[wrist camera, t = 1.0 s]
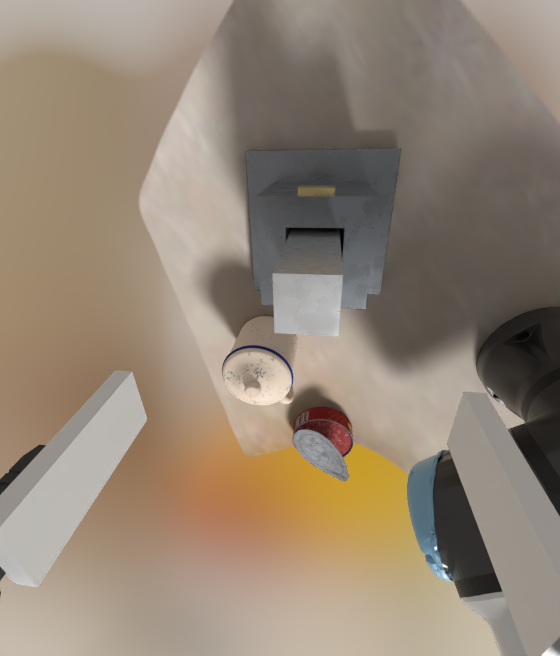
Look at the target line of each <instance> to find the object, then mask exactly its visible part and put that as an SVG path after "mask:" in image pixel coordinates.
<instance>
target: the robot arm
mask: <svg viewBox="0 0 560 656" xmlns="http://www.w3.org/2000/svg"><path fill="white" fill-rule="evenodd" d="M477 371H478V375H479V378H480V380H481V382H482V383H483V385H484V387H485V388H486V390H487V391H488V393H489V394H490V395H491V396H492V397H493V398H494V399H495V400H496V401H498V402H499V403H501V404H502V405H504V406H506V407H507V408H508V409H509V410H510V411H512V412H513V413H515V414H516V415H517V416H519V417H520V418H522V419H523V420H524V421H525V422H526V423H524V424H521V425H519V426H516V427H513V428H510V429H507V428H506V426H505V425H504V423H503V421H502V420H501V418H500V416H499V415H498V413H497V411H496V410H495V408H494V406H493V405H492V403H491V401H490V400H489V398H488V396H487V395H486V393H474V392H463V395H462V398H461V401H460V404H459V407H458V410H457V414H456V417H455V420H454V423H453V426H452V429H451V432H450V436H449V439H448V442H447V445H448V448H449V450H448V451H447V450H442V451H440V452H438V454H437V455H434V456H432V457H430V458H427V459H425V460H423V461H420V462H418V463H417V464H415V465H414V466H413V468H412V469H411V471H410V474H409V477H408V483H407V499H408V506H409V512H410V517H411V521H412V525H413V529H414V532H415V535H416V538H417V541H418V544H419V547H420V549H421V551H422V552H423V553H424V554H425V557H426V561H427V563H428V565H429V567H430V568H431V570H432V571H433V572H434V573H435V574H436V575H437V576H438V577H439V578H441V579H443V580H446V581H448V582H453V581H454V583H455V586H456V588H457V591H458V593H459V596H460V599H461V601H462V603H464V604H465V605H466V606H468V607H469V608H470V609H472V610H473V611H474V612H476V613H477V614H478V615H480V616H481V617H482V618H483V619H484V620H485V621H486V622H487V623H488V625H489V628H490V630H491V633H492V635H493V637H494V640H495V642H496V644H497V647H498V650H499V652H500V654H501V656H560V307H553V308H545V309H539V310H535V311H531V312H528V313H525V314H523V315H520V316H518V317H516V318H514V319H512V320H510V321H509V322H507V323H505V324H504V325H503V326H501V327H500V328H499V329H497V330H496V331H495V332H494V333H493V334H492V335H491V336H490V337H489V338H488V340H487V341H486V342H485V344H484V345H483V347H482V349H481V351H480V353H479V356H478V361H477ZM146 420H147V417H146V414H145V411H144V408H143V404H142V401H141V398H140V395H139V392H138V389H137V386H136V382H135V379H134V376H133V373H132V372H129V371H115V372H114V373H113V374H112V375H111V376H110V377H109V378H108V379H107V380H106V381H105V382H104V383H103V384H102V386H101V387H100V388H99V389H98V390H97V391H96V392H95V393H94V394H93V395H92V396H91V397H90V398H89V400H88V401H87V402H86V403H85V404H84V405H83V406H82V407H81V408H80V409H79V410H78V411H77V413H76V414H75V415H74V416H73V417H72V418H71V419H70V420H69V421H68V422H67V423H66V424H65V426H64V427H63V428H62V429H61V430H60V431H59V432H58V433H57V434H56V435H55V436H54V437H53V439H52V440H51V441H50V442H49V443H48V444H47V445H38V446H37V447H36V448H34V449H33V450H31V451H30V452H28V453H27V454H25V455H24V456H23V457H22V458H21V459H20V460H19V461H18V462H17V463H16V464H15V465H14V466H13V467H12V468H11V469H10V470H9V473H6V474H5V475H4V476H3V477H2V478H1V479H0V580H1V579H2V578H3V576H4V575H5V574H6V575H7V576H8V577H9V578H10V579H11V580H12V581H13V582H14V583H15V584H21V585H27V586H33V587H38V586H39V584H40V583H41V581H42V580H43V578H44V577H45V575H46V574H47V572H48V571H49V569H50V568H51V566H52V565H53V563H54V562H55V560H56V559H57V557H58V555H59V554H60V552H61V551H62V549H63V548H64V546H65V545H66V543H67V542H68V540H69V539H70V537H71V535H72V534H73V532H74V531H75V529H76V528H77V526H78V525H79V523H80V522H81V520H82V519H83V517H84V515H85V514H86V513H87V511H88V509H89V508H90V506H91V505H92V503H93V502H94V500H95V499H96V497H97V496H98V494H99V493H100V491H101V489H102V488H103V486H104V485H105V483H106V482H107V480H108V479H109V477H110V476H111V474H112V473H113V471H114V470H115V468H116V467H117V465H118V463H119V462H120V460H121V459H122V457H123V456H124V454H125V453H126V451H127V450H128V448H129V447H130V445H131V444H132V442H133V440H134V439H135V437H136V435H137V434H138V433H139V431H140V429H141V428H142V427H143V425H144V424H145V422H146ZM0 594H1V592H0Z"/></svg>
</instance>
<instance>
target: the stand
mask: <svg viewBox="0 0 560 656" xmlns="http://www.w3.org/2000/svg"><path fill="white" fill-rule="evenodd" d="M400 152H401V149H400V148H382V149H327V150H272V151H246V165H247V181H248V197H249V212H250V228H251V244H252V260H253V275H254V290H261V305H274V304H273V274H272V273H273V271H274V269H275V266H276V264H277V262H278V259H279V257H280V255H281V253H282V250H283V248H284V246H285V243H286V241H287V239H288V236H289V234H290V232H291V230H292V228H339V232H340V244H341V256H342V268H343V283H342V295H341V308H347V309H366V301H367V294H380V292H381V285H382V278H383V271H384V264H385V257H386V250H387V243H388V236H389V229H390V222H391V215H392V208H393V201H394V194H395V187H396V180H397V173H398V166H399V159H400Z"/></svg>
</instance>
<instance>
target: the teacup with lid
mask: <svg viewBox="0 0 560 656" xmlns="http://www.w3.org/2000/svg"><path fill="white" fill-rule="evenodd" d="M296 349H297V339H296V335H295V334H284V333H274V317H271V316H259V317H256V318H253V319H251V320H249V321H248V322H247V323H246V324H245V325H244V326H243V327H242V329H241V331H240V333H239V335H238V337H237V339H236V342H235V344H234V346H233V348H232V350H231V352H230V354H229V355H228V356H227V357H226V359H225V361H224V363H223V367H222V376H223V380H224V383H225V385H226V387H227V388H228V390H229V391H230V392H231V393H232V394H233V395H234V396H235V397H237V398H238V399H240V400H242V401H244V402H246V403H250V404H254V405H269V404H273V403H275V402H278V401H280V402H281V403H283V404H288V403H291V402H292V400H293V397H294V392H293V386H292V384H293V367H294V361H295V355H296Z"/></svg>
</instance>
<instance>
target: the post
mask: <svg viewBox="0 0 560 656" xmlns="http://www.w3.org/2000/svg"><path fill="white" fill-rule="evenodd" d="M272 274H273V304H274V333H284V334H303V335H322V336H338V333H339V320H340V308H341V295H342V283H343V268H342V256H341V244H340V232H339V228H292V230H291V232H290V234H289V236H288V239H287V241H286V243H285V246H284V248H283V250H282V253H281V255H280V257H279V259H278V262H277V264H276V266H275V269H274V271H273V273H272Z"/></svg>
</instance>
